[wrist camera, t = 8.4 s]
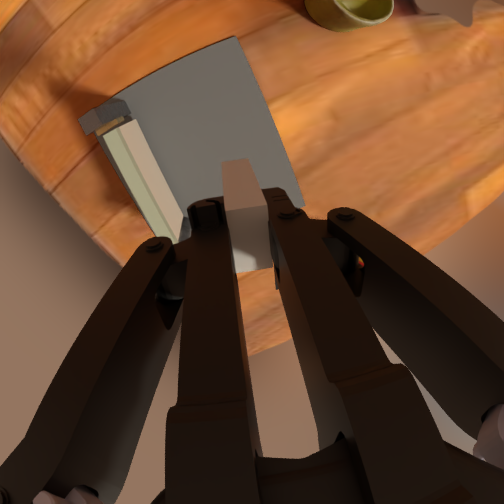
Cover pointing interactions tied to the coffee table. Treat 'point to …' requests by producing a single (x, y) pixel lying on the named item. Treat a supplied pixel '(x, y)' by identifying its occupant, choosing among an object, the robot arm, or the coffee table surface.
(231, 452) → the robot arm
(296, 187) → the mat
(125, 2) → the coffee table surface
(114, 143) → the gate
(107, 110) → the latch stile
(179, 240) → the hinge post
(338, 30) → the mug
